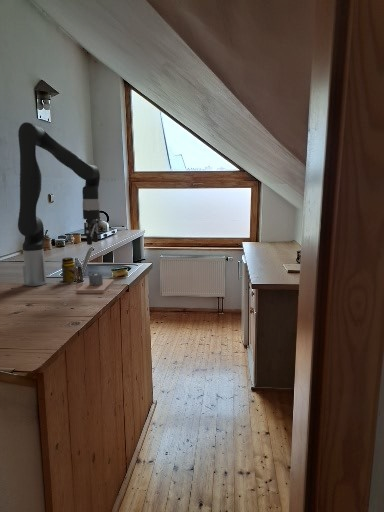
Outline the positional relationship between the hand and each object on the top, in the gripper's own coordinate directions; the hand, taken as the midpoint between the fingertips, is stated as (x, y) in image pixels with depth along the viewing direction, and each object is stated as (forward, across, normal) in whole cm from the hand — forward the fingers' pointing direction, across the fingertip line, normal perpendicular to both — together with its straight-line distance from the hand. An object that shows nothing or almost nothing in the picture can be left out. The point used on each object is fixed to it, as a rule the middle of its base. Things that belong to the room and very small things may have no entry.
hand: (92, 243), depth 170 cm
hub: (+19, +4, +2) cm, 20 cm away
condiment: (+21, -6, -16) cm, 27 cm away
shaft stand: (+20, +4, +2) cm, 21 cm away
